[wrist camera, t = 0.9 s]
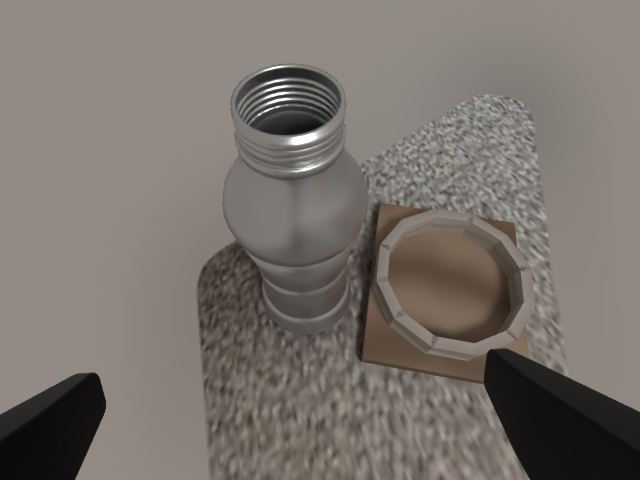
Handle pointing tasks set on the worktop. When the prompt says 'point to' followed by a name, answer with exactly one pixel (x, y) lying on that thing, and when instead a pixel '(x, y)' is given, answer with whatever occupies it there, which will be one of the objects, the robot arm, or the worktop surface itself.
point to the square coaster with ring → (445, 292)
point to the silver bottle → (295, 192)
